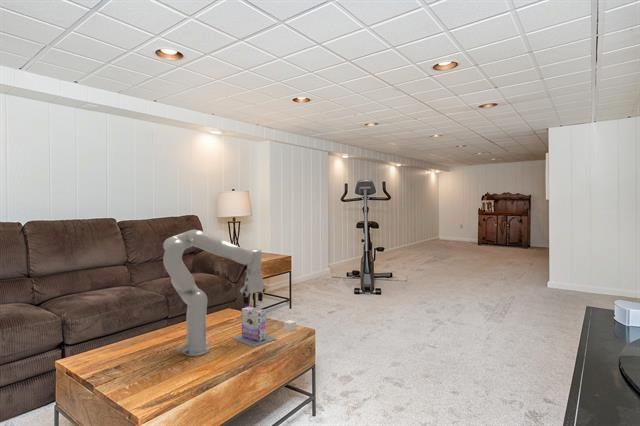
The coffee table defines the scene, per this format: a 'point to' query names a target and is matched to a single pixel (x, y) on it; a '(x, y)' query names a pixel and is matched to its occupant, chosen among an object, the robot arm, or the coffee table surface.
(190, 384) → the coffee table surface
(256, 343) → the grey mat
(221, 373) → the coffee table surface
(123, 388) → the coffee table surface
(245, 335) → the candy box
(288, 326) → the cream block
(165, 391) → the coffee table surface
